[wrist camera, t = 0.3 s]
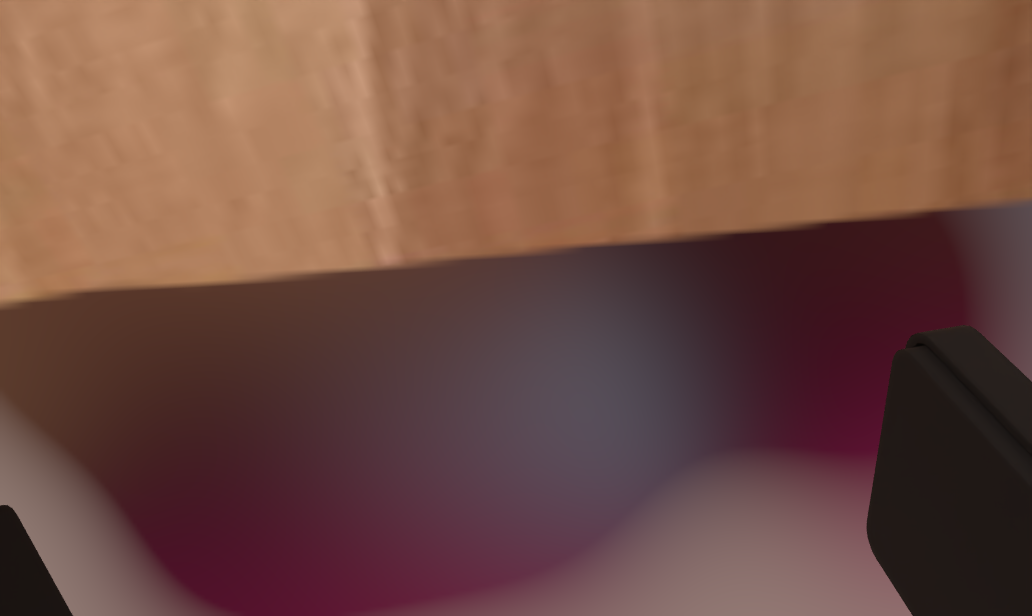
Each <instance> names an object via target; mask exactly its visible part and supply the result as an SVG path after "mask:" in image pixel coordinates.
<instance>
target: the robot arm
mask: <svg viewBox="0 0 1032 616" xmlns="http://www.w3.org/2000/svg"><path fill="white" fill-rule="evenodd" d="M867 535H868V540H869V543H870V546H871V549H872V552H873V553H874V555H875V557H876V559H877V561H878V562H879V564H880V565H881V567H882V568H883V570H884V571H885V573H886V575H887V576H888V578H889V579H890V581H891V582H892V584H893V585H894V587H895V589H896V590H897V592H898V593H899V595H900V596H901V598H902V600H903V601H904V603H905V604H906V606H907V607H908V609H909V610H910V612H911V614H912V615H913V616H1032V382H1031V381H1030V380H1029V379H1028V378H1027V377H1026V376H1025V375H1024V374H1023V373H1022V372H1021V371H1020V370H1019V369H1018V368H1017V367H1016V366H1014V365H1013V364H1012V363H1011V362H1010V361H1009V360H1008V359H1007V358H1006V357H1005V356H1004V355H1003V354H1002V353H1001V352H1000V351H999V350H998V349H996V348H995V347H994V346H993V345H992V344H991V343H990V342H989V341H988V340H987V339H986V338H985V337H984V336H983V335H982V334H981V333H979V332H978V331H977V330H976V329H974V328H972V327H971V326H965V325H963V326H956V327H950V328H945V329H939V330H933V331H927V332H921V333H917V334H914V335H912V336H911V337H910V339H909V340H908V341H907V345H906V348H905V349H901V350H899V351H897V352H896V354H895V355H894V358H893V361H892V367H891V374H890V380H889V386H888V392H887V399H886V405H885V411H884V418H883V424H882V431H881V437H880V443H879V449H878V455H877V461H876V468H875V474H874V481H873V487H872V493H871V499H870V505H869V512H868V518H867ZM0 616H73V615H72V613H71V612H70V610H69V608H68V606H67V605H66V603H65V601H64V599H63V597H62V595H61V594H60V592H59V590H58V588H57V586H56V585H55V583H54V581H53V579H52V577H51V575H50V574H49V572H48V570H47V568H46V566H45V565H44V563H43V561H42V559H41V557H40V556H39V554H38V552H37V550H36V548H35V547H34V545H33V543H32V541H31V539H30V538H29V536H28V534H27V532H26V530H25V529H24V527H23V525H22V523H21V521H20V519H19V518H18V516H17V514H16V513H15V511H14V510H13V509H12V508H11V507H9V506H8V505H1V506H0Z"/></svg>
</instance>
